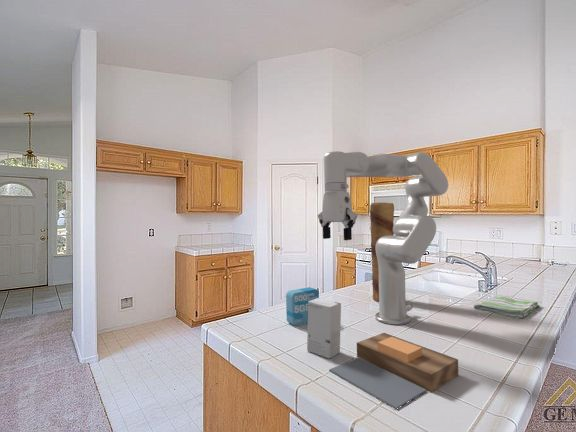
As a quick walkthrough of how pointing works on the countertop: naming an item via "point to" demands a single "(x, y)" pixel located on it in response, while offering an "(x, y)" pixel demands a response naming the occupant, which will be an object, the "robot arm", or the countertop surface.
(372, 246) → the brown wooden post
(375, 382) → the mat
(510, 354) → the countertop surface
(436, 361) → the brown wooden block
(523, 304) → the dish towel
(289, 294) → the data package
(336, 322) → the skincare box
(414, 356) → the tan foam pad
